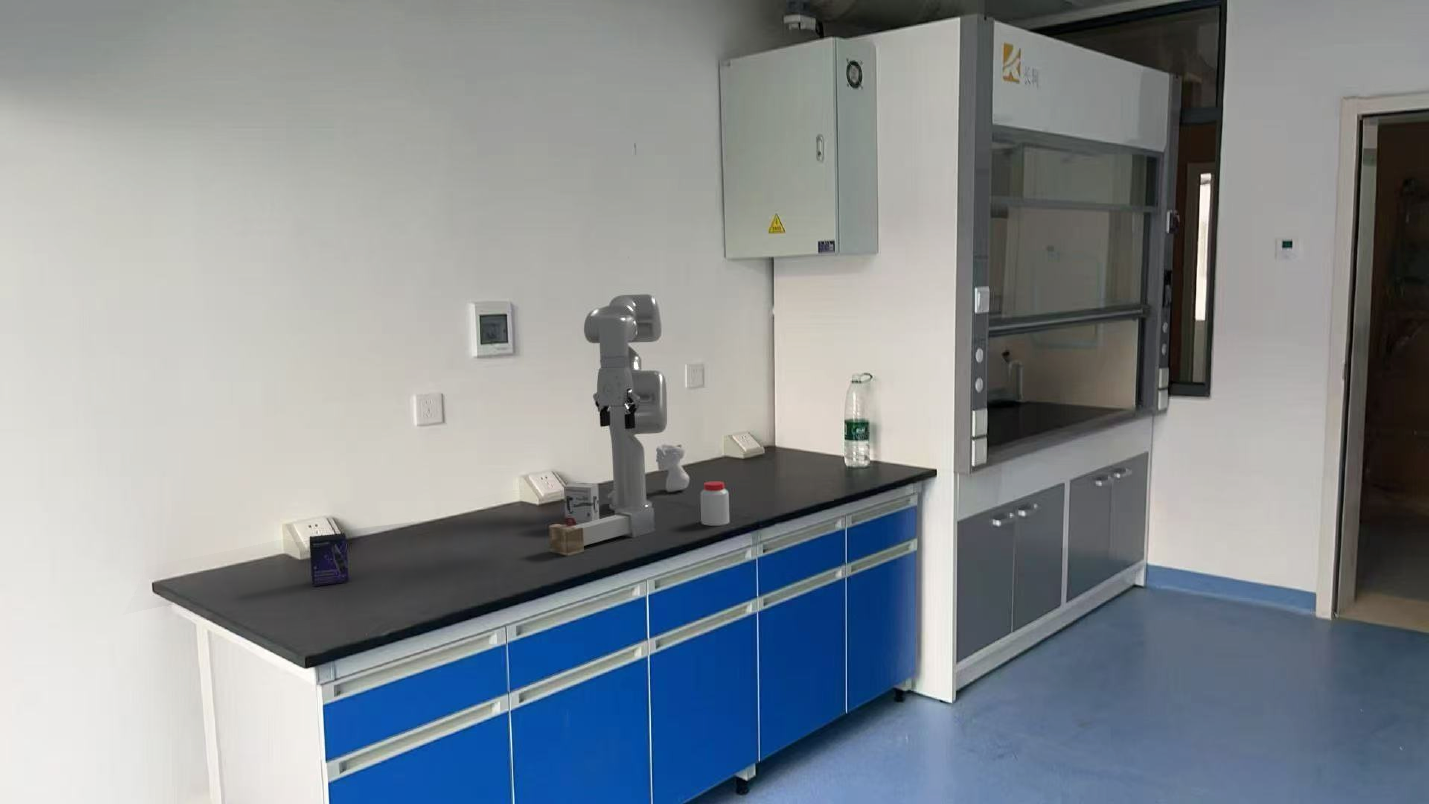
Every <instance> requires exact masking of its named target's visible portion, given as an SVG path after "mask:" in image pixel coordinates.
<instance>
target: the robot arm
mask: <svg viewBox="0 0 1429 804" xmlns="http://www.w3.org/2000/svg"><path fill="white" fill-rule="evenodd" d="M583 325H584V326H583V334H584V338H585V339H586V341H587V342H588V343H590V344H599V363H600V368H599V369H598V372H597V373H598V374H597V379H596V380H597V382H596V383H597V384H596V392H595V393H594V394H593V395H592V397H593V400H594V405H595V406H596V408H597V412H599V426H600V427H601V428H602V427H603V428H605V427H608V429H609V434H610V442H611V455H612V459H611V460H612V475H613V490H612V491H610V493H607V498H608V499H611V500H612V502H611V503H610V504H609V509H610V510H611V511H614V512H615V510H617V509H621V508H625V507H629V506H633V505H642V506H648V507H652V506H653V505H652V501H650V500H647V488H646V487H647V485H646V462H645V449H644V445H643V443H642V442H641V441H640V440H639V439H638V438H637V437H636V435H644V434H646V435H649V434H650V435H651V434H661V433H662V432H664V431H665V430H666V427H667V426H668V425H667V424H668V405H667V404H668V401H667V399H668V398H667V397H668V396H667V381H666V377H665V375H664V374H663V373H662V372H661V371H659V370H642V358H641V356H639V354H638V353H637V352H636V351H635V350H634V349H633V348H632V347H631V346H629V344H631V343H632V344H634V343H653V342H656V341H659V340H660V337H661V335H662V322H661V315H660V309H659V305H658V302H657V300H656V298H655V297H654V296H653V295H651V294H648V293H646V294H623V295H622V294H621V295H617V296H615V297H614V298H612V299H611V301H610V302H609V304H608V305H606V306H603V307H600V308H596V309H594V310H591V311H589V313H588V314H587V315H586V318H585V320H584V324H583Z"/></svg>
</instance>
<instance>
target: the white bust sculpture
mask: <svg viewBox="0 0 1429 804" xmlns="http://www.w3.org/2000/svg"><path fill="white" fill-rule="evenodd" d="M655 451H656V460H655V462H656V463H657V469H658V471H660V472H665V471H666V470H667V471H668V475H667V477H666V482H665V490H666V491H667V492H668V493H674V492H677V491H680V490H681V491H682V490H683V489H686V488H687V487H689V483H690V476H689V474H688V473H687V472H686V471H685V470H684V468H683V466H682V464H681V460H682V459H683V458H684V455H685V448H684V446H683V445H682V444H677V445H676V446H674V445H670V444H665V443H664V444H661V445H660V446H657V447H656V449H655Z"/></svg>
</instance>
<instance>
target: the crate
mask: <svg viewBox="0 0 1429 804" xmlns="http://www.w3.org/2000/svg"><path fill="white" fill-rule="evenodd" d="M548 530H549V549H550V551H549V552H552V553H555V554H558V553H559V555H564V556H568V557H569V556H573V555H576V554H581V553H583V552H585V545H584V540H583V528H577V529H575V527H570V526H567V525H566V524H565V523H564V524H558V523H555V524H551V525H549V526H548Z"/></svg>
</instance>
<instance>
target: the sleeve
mask: <svg viewBox="0 0 1429 804" xmlns="http://www.w3.org/2000/svg"><path fill="white" fill-rule="evenodd" d="M618 514H627V515H630V522H631V533H628V534H624V535H622V536H624V537H628V538H629V537H630V538H636V537H641V536H643V535H646V534H650V533H654V532H655V530H656V529H655V508H654V507H652V506H651V507H648V506H642V505H633V506H629V507H625V508H621V509H617V510H615V511H614V515H618Z"/></svg>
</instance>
